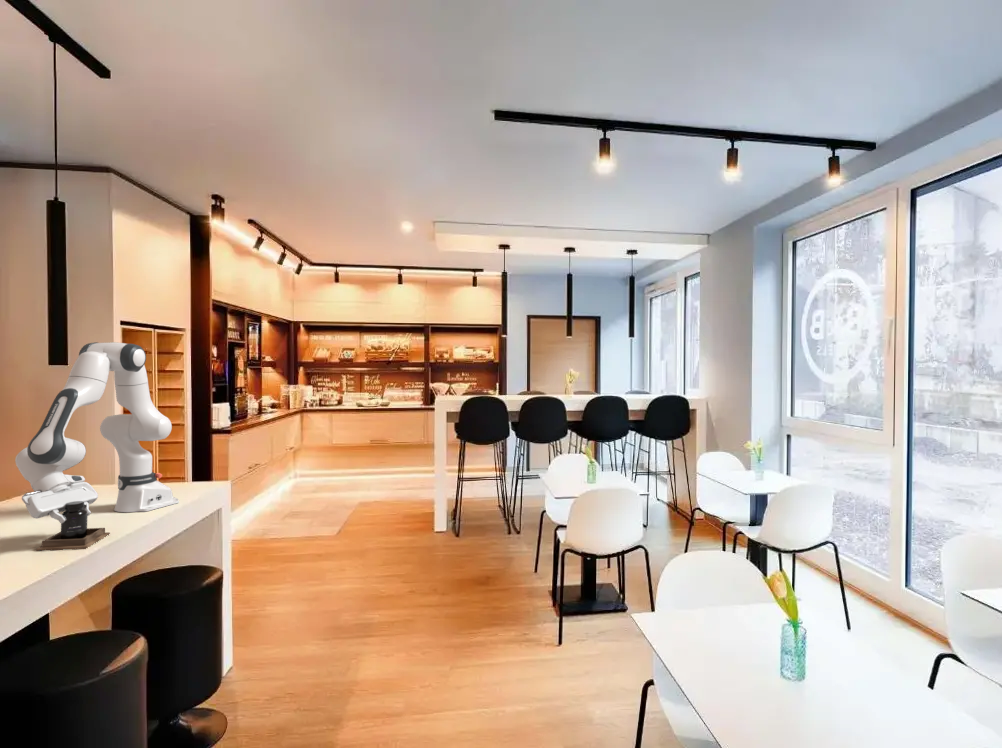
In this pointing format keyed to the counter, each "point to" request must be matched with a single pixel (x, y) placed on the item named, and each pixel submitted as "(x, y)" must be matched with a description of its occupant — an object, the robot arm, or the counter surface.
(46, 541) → the walnut tray
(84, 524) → the supplement bottle
